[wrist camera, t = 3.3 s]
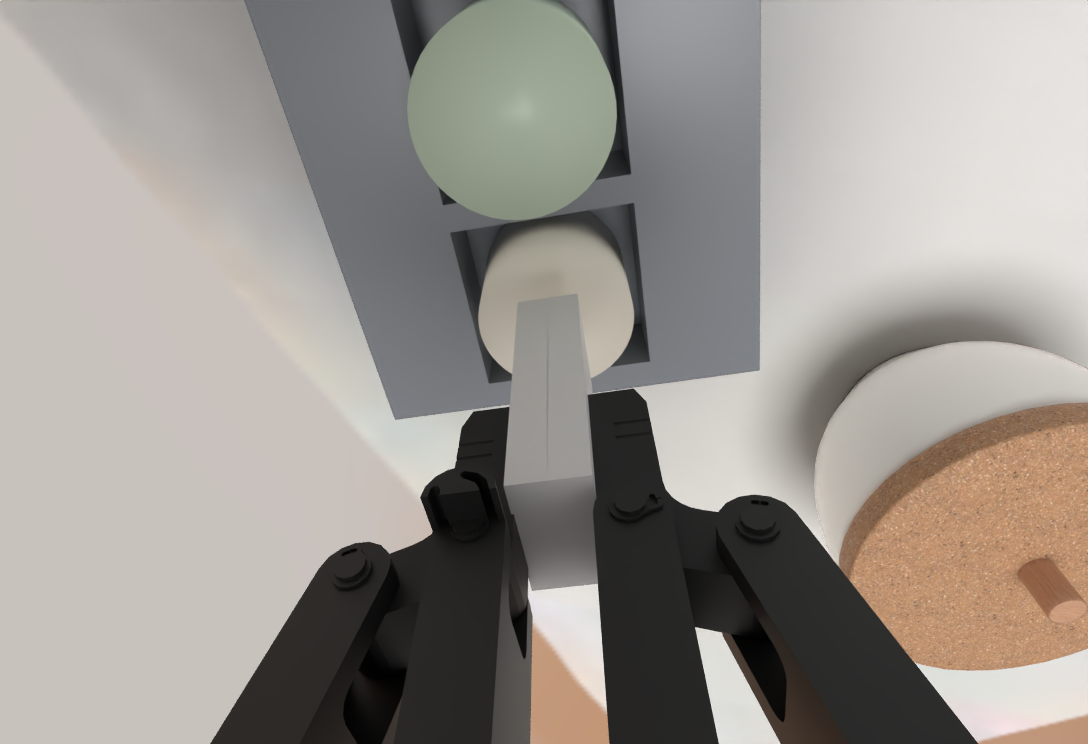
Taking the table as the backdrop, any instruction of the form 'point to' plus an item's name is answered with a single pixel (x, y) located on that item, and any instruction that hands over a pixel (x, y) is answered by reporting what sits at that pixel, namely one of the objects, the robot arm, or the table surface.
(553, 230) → the cream button
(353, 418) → the table surface
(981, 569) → the lidded jar
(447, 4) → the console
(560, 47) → the sage button
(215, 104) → the table surface
